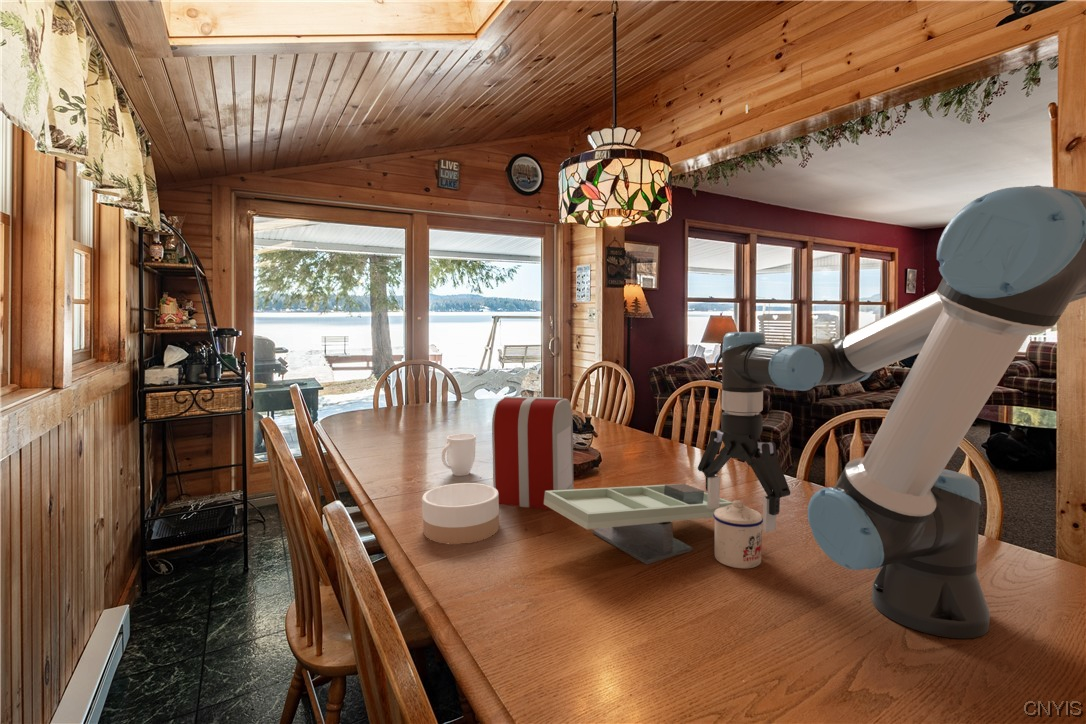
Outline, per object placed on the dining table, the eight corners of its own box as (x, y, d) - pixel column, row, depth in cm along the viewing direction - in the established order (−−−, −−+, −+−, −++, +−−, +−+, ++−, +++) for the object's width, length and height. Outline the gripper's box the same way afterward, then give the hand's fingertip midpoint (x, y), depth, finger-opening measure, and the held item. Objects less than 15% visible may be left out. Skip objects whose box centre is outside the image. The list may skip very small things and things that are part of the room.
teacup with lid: (751, 574, 99) (752, 512, 98) (705, 560, 105) (705, 502, 104) (775, 553, 108) (776, 496, 107) (730, 541, 114) (731, 487, 113)
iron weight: (702, 504, 119) (704, 490, 119) (682, 506, 116) (684, 492, 116) (683, 496, 124) (684, 484, 124) (663, 498, 121) (664, 485, 121)
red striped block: (557, 510, 135) (555, 403, 133) (492, 503, 140) (489, 400, 138) (574, 490, 150) (573, 394, 148) (515, 485, 156) (513, 392, 154)
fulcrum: (692, 550, 110) (692, 519, 109) (646, 564, 104) (646, 531, 103) (635, 522, 125) (635, 494, 125) (593, 533, 119) (592, 504, 119)
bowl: (408, 531, 123) (406, 495, 122) (467, 511, 136) (466, 478, 135) (455, 552, 111) (453, 512, 111) (514, 527, 124) (514, 492, 123)
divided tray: (732, 515, 116) (733, 502, 116) (586, 529, 98) (588, 514, 98) (680, 495, 130) (681, 483, 130) (543, 504, 112) (544, 490, 112)
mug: (462, 468, 175) (462, 431, 174) (481, 473, 169) (481, 435, 168) (434, 476, 166) (433, 438, 164) (453, 482, 160) (453, 442, 159)
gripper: (813, 420, 95) (810, 536, 97) (707, 401, 117) (706, 496, 119) (785, 425, 92) (782, 545, 93) (681, 404, 113) (680, 502, 115)
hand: (739, 518), depth 106 cm, fingers open, 13 cm apart
